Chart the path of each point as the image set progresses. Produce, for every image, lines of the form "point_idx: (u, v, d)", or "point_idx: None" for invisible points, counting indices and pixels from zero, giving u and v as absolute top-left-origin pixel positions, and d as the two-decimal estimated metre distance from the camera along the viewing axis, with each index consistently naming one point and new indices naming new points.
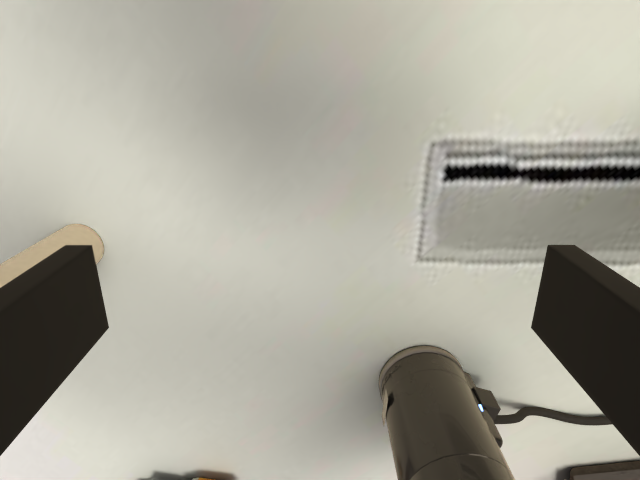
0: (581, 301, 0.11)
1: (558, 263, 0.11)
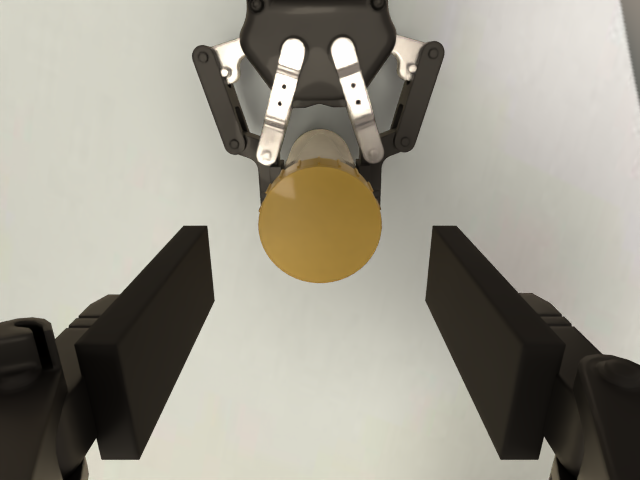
0: (447, 272, 0.12)
1: (437, 241, 0.13)
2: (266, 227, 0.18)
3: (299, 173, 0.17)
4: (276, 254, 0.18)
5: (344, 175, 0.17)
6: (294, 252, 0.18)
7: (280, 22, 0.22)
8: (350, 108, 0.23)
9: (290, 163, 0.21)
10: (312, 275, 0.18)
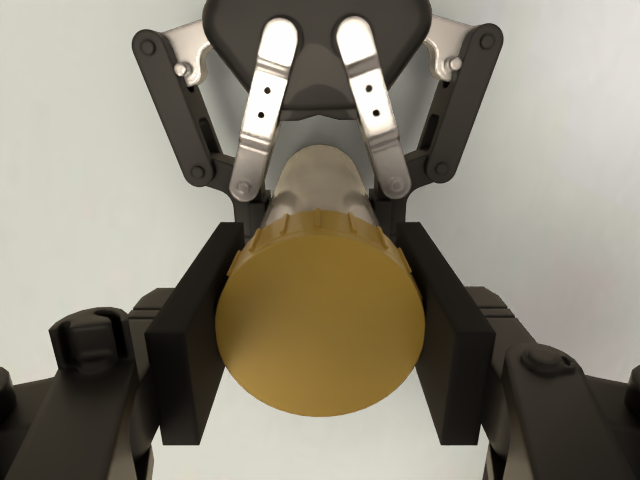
0: None
1: (399, 237, 0.13)
2: (228, 333, 0.10)
3: (283, 246, 0.09)
4: (246, 374, 0.11)
5: (363, 250, 0.09)
6: (277, 371, 0.11)
7: None
8: (364, 122, 0.16)
9: (275, 207, 0.14)
10: (307, 406, 0.11)
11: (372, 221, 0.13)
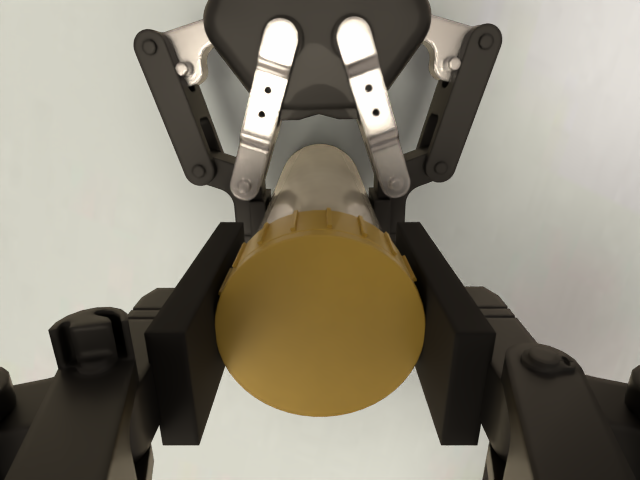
0: None
1: (399, 237, 0.13)
2: (317, 407, 0.11)
3: (228, 359, 0.11)
4: (365, 396, 0.11)
5: (226, 296, 0.10)
6: (363, 371, 0.11)
7: None
8: (364, 121, 0.16)
9: (275, 205, 0.14)
10: (408, 347, 0.10)
11: (372, 219, 0.13)
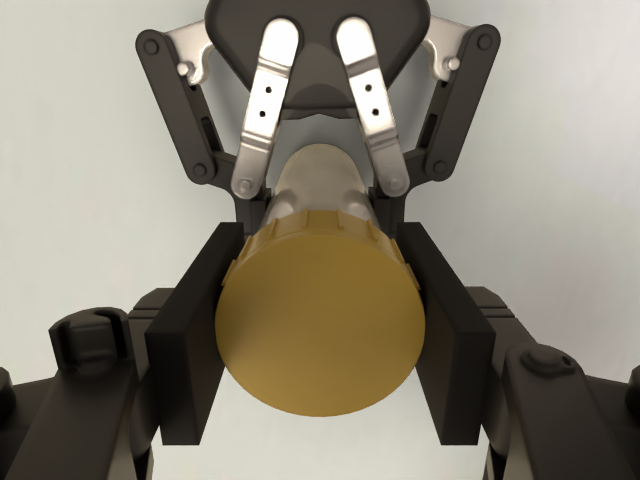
0: None
1: (399, 237, 0.13)
2: (411, 338, 0.10)
3: (347, 409, 0.11)
4: (401, 292, 0.10)
5: (279, 405, 0.11)
6: (368, 295, 0.10)
7: None
8: (363, 121, 0.16)
9: (276, 204, 0.14)
10: (338, 251, 0.09)
11: (371, 218, 0.13)
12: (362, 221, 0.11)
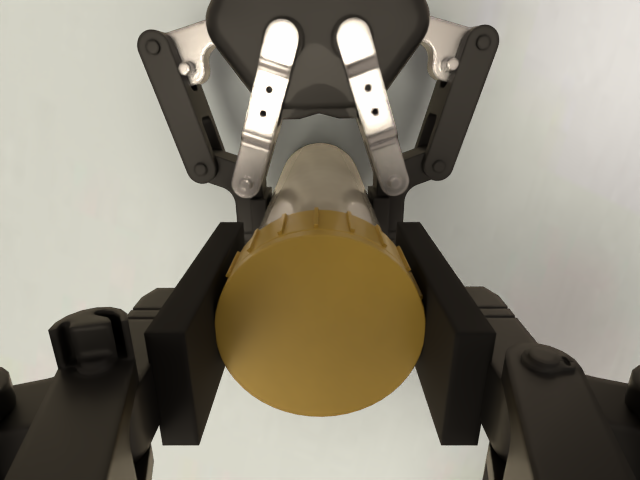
0: None
1: (399, 236, 0.13)
2: (327, 249, 0.09)
3: (418, 309, 0.10)
4: (272, 260, 0.10)
5: (405, 371, 0.11)
6: (275, 291, 0.10)
7: None
8: (363, 120, 0.16)
9: (276, 202, 0.15)
10: (229, 317, 0.10)
11: (371, 216, 0.14)
12: None
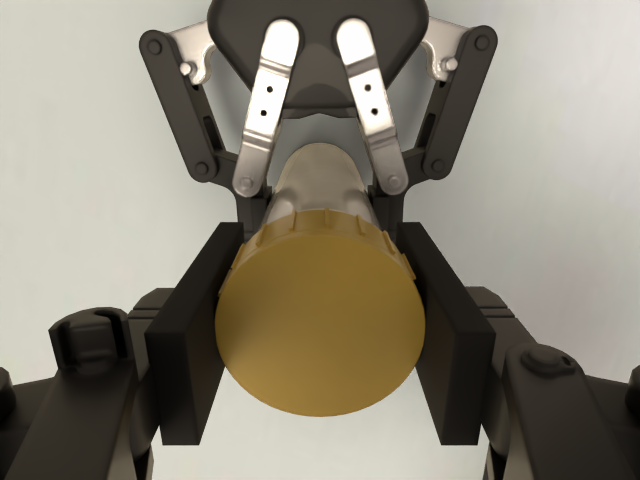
0: None
1: (399, 237, 0.13)
2: (228, 326, 0.10)
3: (292, 243, 0.09)
4: (242, 369, 0.11)
5: (371, 253, 0.10)
6: (273, 368, 0.11)
7: None
8: (363, 120, 0.17)
9: (277, 201, 0.15)
10: (300, 404, 0.11)
11: (370, 215, 0.14)
12: None
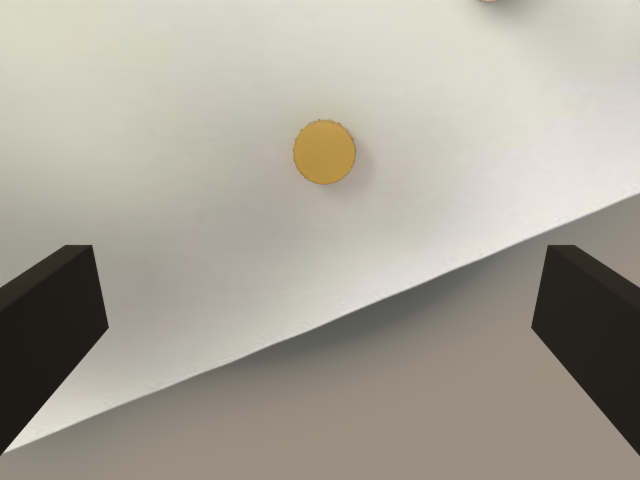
0: (581, 301, 0.11)
1: (558, 263, 0.12)
2: (321, 180, 0.36)
3: (296, 160, 0.35)
4: (336, 177, 0.36)
5: (298, 139, 0.35)
6: (336, 168, 0.35)
7: None
8: None
9: None
10: (349, 160, 0.35)
11: None
12: None
